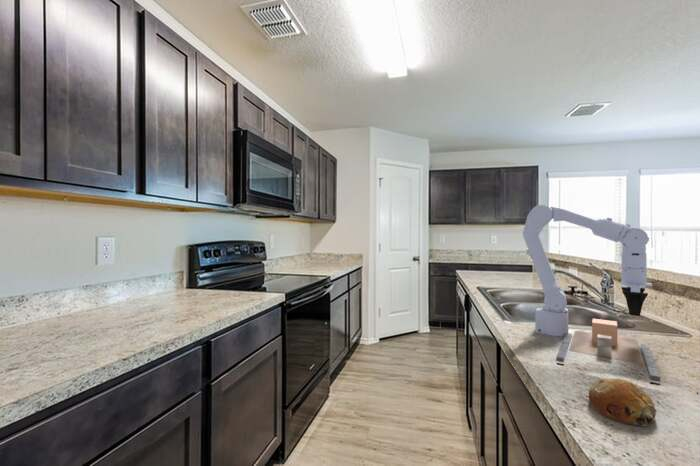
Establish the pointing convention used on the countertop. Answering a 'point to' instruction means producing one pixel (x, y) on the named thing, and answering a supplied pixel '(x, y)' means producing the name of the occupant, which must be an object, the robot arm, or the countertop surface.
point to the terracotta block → (604, 330)
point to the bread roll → (622, 401)
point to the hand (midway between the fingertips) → (633, 313)
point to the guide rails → (645, 348)
